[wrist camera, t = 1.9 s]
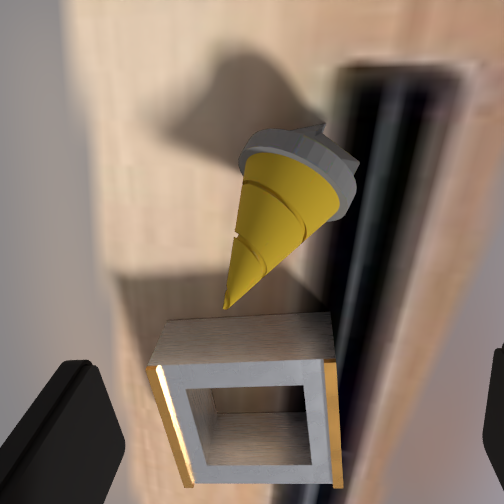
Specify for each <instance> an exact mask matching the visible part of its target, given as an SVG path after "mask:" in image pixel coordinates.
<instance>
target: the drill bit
mask: <svg viewBox="0 0 504 504" xmlns="http://www.w3.org/2000/svg"><path fill="white" fill-rule="evenodd" d="M325 125H326V124H321V125H315V126H310V127H305V128H300V129H295V130H290V131H288V130H283V129H265V130H261V131H259V132H256V133H255V134H254V135H253V136H252V137H251V138H250V139H249V141H248V143H247V144H246V146H245V148H244V149H243V151H242V153H241V155H240V157H239V168H240V171H241V173H242V175H243V185H242V190H241V196H240V203H239V209H238V215H237V222H236V228H235V232H236V233H238V234H239V235H238V237H237V238H235V237H234V241H233V247H232V253H231V260H230V266H229V272H228V279H227V290H226V292H225V298H224V304H223V309H225V310H227V309H228V308H229V307H231V306H232V305H233V304H234V303H235V302H236V301H237V300H238V299H240V298H241V297H242V296H243V295H244V294H245V293H246V292H247V291H249V290H250V289H251V288H252V287H253V286H254V285H255V284H256V283H258V282H259V281H260V280H261V279H262V278H263V277H264V276H265V275H267V274H268V273H269V272H270V271H271V270H272V269H273V268H274V267H276V266H277V265H278V264H279V263H280V262H281V261H282V260H283V259H285V258H286V257H287V256H288V255H289V254H290V253H291V252H292V251H294V250H295V249H296V248H297V247H298V246H299V245H300V244H301V243H302V242H304V241H305V240H306V239H307V238H308V237H309V236H310V235H311V234H313V233H314V232H315V231H316V230H317V229H318V228H319V227H320V226H322V225H323V224H324V223H325V222H328V221H335V220H338V219H340V218H342V217H343V216H344V215H345V213H346V212H347V210H348V208H349V206H350V204H351V202H352V200H353V198H354V196H355V194H356V188H357V187H356V182H355V179H354V174H355V172H356V170H357V168H358V166H359V164H360V162H359V161H358V160H356V159H355V158H354V157H352V156H351V155H350V154H349V153H347V152H346V151H345V150H343V149H342V148H341V147H339V146H338V145H337V144H336V143H334V142H333V141H332V140H330V139H329V138H328V137H326V136H325V135H324V134H323V131H324V128H325Z"/></svg>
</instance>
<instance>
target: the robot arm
mask: <svg viewBox="0 0 504 504" xmlns="http://www.w3.org/2000/svg"><path fill="white" fill-rule="evenodd" d="M483 444H484V448H485V450H486V453H487V455H488V457H489V460H490V462H491V464H492V466H493V468H494V471H495V473H496V475H497V477H498V479H499V482H500V484H501V486H502V488H503V490H504V344H503V346H502V348H497V349H495V351H494V357H493V363H492V371H491V378H490V385H489V392H488V399H487V406H486V413H485V420H484V427H483ZM124 452H125V439H124V436H123V434H122V431H121V428H120V426H119V423H118V420H117V417H116V415H115V412H114V409H113V407H112V404H111V401H110V399H109V396H108V393H107V391H106V388H105V385H104V383H103V380H102V377H101V374H100V372H99V369H98V367H96V366H95V365H92V363H91V362H90V361H89V360H69V361H64V362H63V363H62V364H61V365H60V366H59V368H58V369H57V370H56V372H55V373H54V374H53V376H52V377H51V379H50V380H49V381H48V383H47V384H46V385H45V387H44V388H43V390H42V391H41V392H40V394H39V395H38V397H37V398H36V399H35V401H34V402H33V403H32V405H31V406H30V408H29V409H28V411H27V412H26V413H25V415H24V416H23V417H22V419H21V420H20V421H19V423H18V424H17V425H16V427H15V428H14V430H13V431H12V432H11V434H10V435H9V436H8V438H7V439H6V441H5V442H4V443H3V445H2V446H1V448H0V504H103V503H104V501H105V499H106V496H107V494H108V491H109V489H110V487H111V484H112V482H113V479H114V477H115V475H116V472H117V470H118V467H119V465H120V463H121V460H122V458H123V455H124Z"/></svg>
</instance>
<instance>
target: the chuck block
mask: <svg viewBox="0 0 504 504" xmlns="http://www.w3.org/2000/svg"><path fill="white" fill-rule="evenodd" d="M146 373H147V376H148V379H149V382H150V385H151V388H152V391H153V394H154V397H155V400H156V403H157V406H158V410H159V413H160V416H161V419H162V422H163V425H164V428H165V431H166V434H167V437H168V440H169V443H170V446H171V449H172V452H173V455H174V458H175V461H176V464H177V467H178V470H179V473H180V476H181V479H182V482H183V485H184V488H193V487H194V483H267V484H333V488H343V473H342V456H341V439H340V422H339V405H338V388H337V372H336V359H335V350H334V341H333V333H332V324H331V316H330V312H314V313H296V314H279V315H261V316H243V317H225V318H207V319H189V320H171V321H167V322H166V324H165V326H164V329H163V331H162V333H161V336H160V338H159V340H158V342H157V345H156V347H155V349H154V352H153V354H152V356H151V358H150V361H149V363H148V365H147V368H146ZM292 385H304V395H305V404H306V412H281V413H236V414H217V411H216V407H215V403H214V399H213V394H212V390H211V388H229V387H261V386H292Z"/></svg>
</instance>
